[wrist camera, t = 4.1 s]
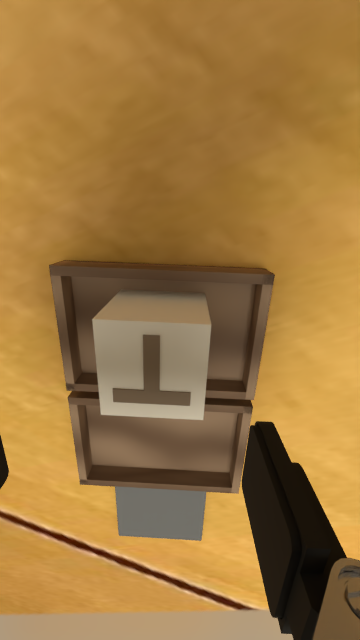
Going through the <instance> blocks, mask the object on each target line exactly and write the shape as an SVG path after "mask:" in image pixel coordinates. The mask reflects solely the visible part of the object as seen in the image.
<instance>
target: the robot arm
mask: <svg viewBox="0 0 360 640" xmlns="http://www.w3.org/2000/svg"><path fill="white" fill-rule="evenodd" d="M8 473H9V469H8V465H7V461H6V457H5V452H4V448H3V444H2V440H1V436H0V488H1V487H2V486H3V484H4V483H5V481H6V479H7V477H8ZM242 489H243V494H244V498H245V503H246V507H247V512H248V516H249V521H250V525H251V530H252V534H253V538H254V543H255V547H256V552H257V556H258V561H259V565H260V570H261V574H262V579H263V583H264V587H265V592H266V596H267V601H268V605H269V609H270V612H271V615H272V617H275V618H278V621H279V625H280V629H281V633H284V634H292V635H293V638H294V640H360V561H359V560H356V559H352V558H347V557H346V555H345V553H344V551H343V549H342V547H341V545H340V543H339V541H338V539H337V537H336V534H335V532H334V530H333V528H332V526H331V524H330V522H329V520H328V518H327V516H326V514H325V512H324V510H323V508H322V506H321V504H320V502H319V500H318V498H317V496H316V494H315V492H314V490H313V488H312V486H311V484H310V482H309V480H308V478H307V476H306V474H305V472H304V470H303V468H302V467H301V465H300V464H299V463H292V462H291V460H290V458H289V456H288V454H287V452H286V449H285V447H284V445H283V443H282V441H281V439H280V436H279V434H278V432H277V430H276V428H275V425H274V424H273V423H272V422H259V421H257V422H256V423H255V426H254V425H251V426H250V431H249V438H248V444H247V451H246V457H245V463H244V470H243V476H242Z"/></svg>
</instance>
